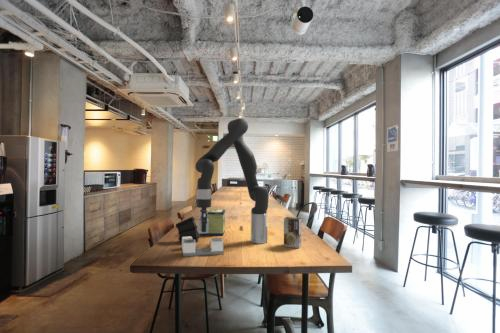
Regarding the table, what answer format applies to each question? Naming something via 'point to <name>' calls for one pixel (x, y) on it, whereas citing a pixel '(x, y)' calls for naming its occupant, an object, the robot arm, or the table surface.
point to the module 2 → (201, 226)
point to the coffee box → (292, 232)
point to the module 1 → (186, 239)
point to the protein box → (216, 222)
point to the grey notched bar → (191, 250)
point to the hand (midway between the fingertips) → (203, 230)
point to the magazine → (187, 229)
